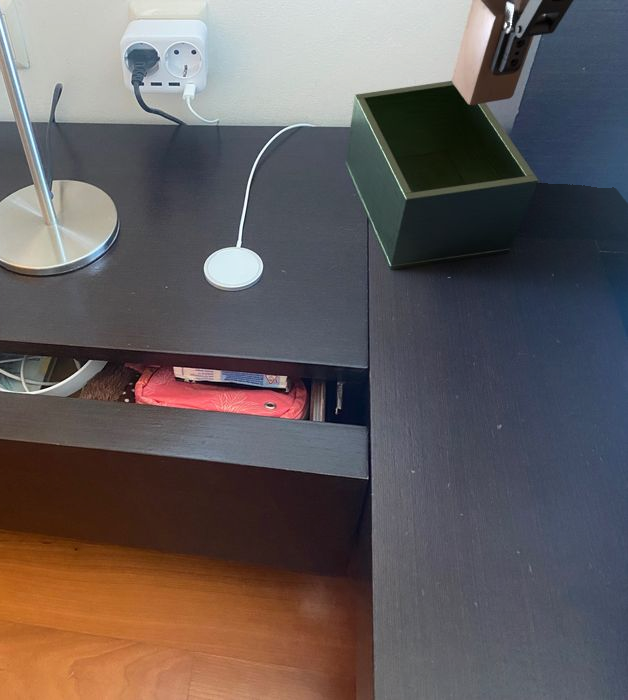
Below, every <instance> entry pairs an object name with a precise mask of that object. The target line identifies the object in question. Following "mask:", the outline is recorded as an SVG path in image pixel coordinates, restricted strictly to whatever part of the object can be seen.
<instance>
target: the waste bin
mask: <svg viewBox="0 0 628 700" xmlns="http://www.w3.org/2000/svg"><path fill="white" fill-rule="evenodd" d="M344 166H345V168H346V170H347V173H348V175H349V178H350V180H351V183H352V185H353V187H354V189H355V192H356V195H357V196H358V199H359V201H360V203H361V205H362V208H363V210H364V212H365V214H366V217H367V219H368V222H369V224H370V226H371V229H372V231H373V233H374V236H375V238H376V240H377V243H378V245H379V248H380V250H381V252H382V254H383V257H384V259H385V261H386V264H387V266H388V268H389V270H390V271H392V270H398V269H405V268H412V267H419V266H428V265H433V264H439V263H448V262H454V261H461V260H468V259H476V258H482V257H489V256H495V255H502V254H509V253H510V251H511V248H512V246H513V243H514V241H515V239H516V237H517V233H518V231H519V228H520V226H521V224H522V221H523V218H524V216H525V215H526V212H527V209H528V207H529V204H530V201H531V199H532V196H533V194H534V191H535V189H536V187H537V184H538V182H539V179H538V177H537V176H536V175H535V173H534V172H533V170H532V169H531V167H530V166H529V164H528V163H527V162H526V160H525V158H524V157H523V156H522V154H521V153H520V151H519V149H518V148H517V147H516V145H515V144H514V143H513V141H512V140H511V138H510V137H509V135H508V133H507V132H506V131H505V129H504V128H503V126H502V125H501V124H500V122H499V121H498V119H497V117H496V116H495V115H494V113H493V112H492V110H491V109H490V107H489V106H488V104H487V103H481V104H476V105H469V104H468V103H467V102H466V101H465V99H464V98H463V96H462V95H461V94H460V92H459V91H458V90H457V88H456V87H455V85H454V84H453V82H452V80H448V81H447V80H446V81H440V82H433V83H426V84H420V85H419V84H418V85H413V86H405V87H399V88H392V89H387V90H386V89H385V90H378V91H377V90H376V91H371V92H365V93H357V94H354V99H353V106H352V113H351V119H350V127H349V135H348V142H347V150H346V158H345V164H344Z"/></svg>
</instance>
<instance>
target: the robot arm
mask: <svg viewBox="0 0 628 700" xmlns="http://www.w3.org/2000/svg"><path fill="white" fill-rule="evenodd" d="M506 1H507V3H506V9H505V15H504V21H503V29H501V32H500V36H499V39H498V42H497V45H496V49H495V52H494V55H493V59H492V62H491V65H490V70H491V72H492V73H493V74H494V75H495V76H499V75H506V74H513V73H515V72H517V71H518V70H519V69H520V67H521V66H522V63H523V60H524V57H525V54H526V51H527V48H528V45H529V42H530V39H531V36H534V37H536V36H541V35H550V34H553V33H554V32H555V31H556V29H557V28H558V26H559V24H560V23H561V21H562V20H563V18H564V17H565V15H566V14H567V11H568V10H569V8H570V7H571V5H572V4H573V2H574V0H529V2H528V4H527V6H526V7H525V9H524V11H523V13H522V14H521V15H519V9H520V4H521V2H522V1H523V0H506Z"/></svg>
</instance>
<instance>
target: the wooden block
mask: <svg viewBox="0 0 628 700" xmlns="http://www.w3.org/2000/svg"><path fill="white" fill-rule="evenodd" d="M528 2H529V0H523V1H522V2H521V4H520V9H519V15H521V14H522V13H523V11H524V9H525V7H526V6H527V4H528ZM506 3H507V1H506V0H472V1H471V3H470V4H471V5H470V9H469V12H468V15H467V21H466V24H465V27H464V30H463V34H462V39H461V42H460V46H459V50H458V54H457V57H456V62H455V64H454V69H453V72H452V75H451V76H452V77H451V81H452V82H453V84H454V85H455V87H456V88H457V90H458V91H459V92H460V94H461V95H462V96H463V98H464V99H465V101H466V102H467V103H468V104H469V105H476V104H481V103H486V104H487V103H492V102H498V101H504V100H509V99H511V98H513V96H514V95H515V91H516V88H517V87H518V82H519V80H520V78H521V74H522V71H523V68H524V65H525V63H526V60H527V58H528V55H529V51H530V48H531V46H532V42H533V40H534V37H535V36H531V39H530V42H529V45H528V48H527V51H526V54H525V57H524V60H523V63H522V66H521V67H520V69H519V70H518V71H517V72H515V73H513V74H506V75H499V76H495V75H494V74H493V73H492V72H491V70H490V65H491V62H492V59H493V55H494V52H495V49H496V45H497V42H498V39H499V36H500V32H501V29H503V21H504V15H505V9H506Z"/></svg>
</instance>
